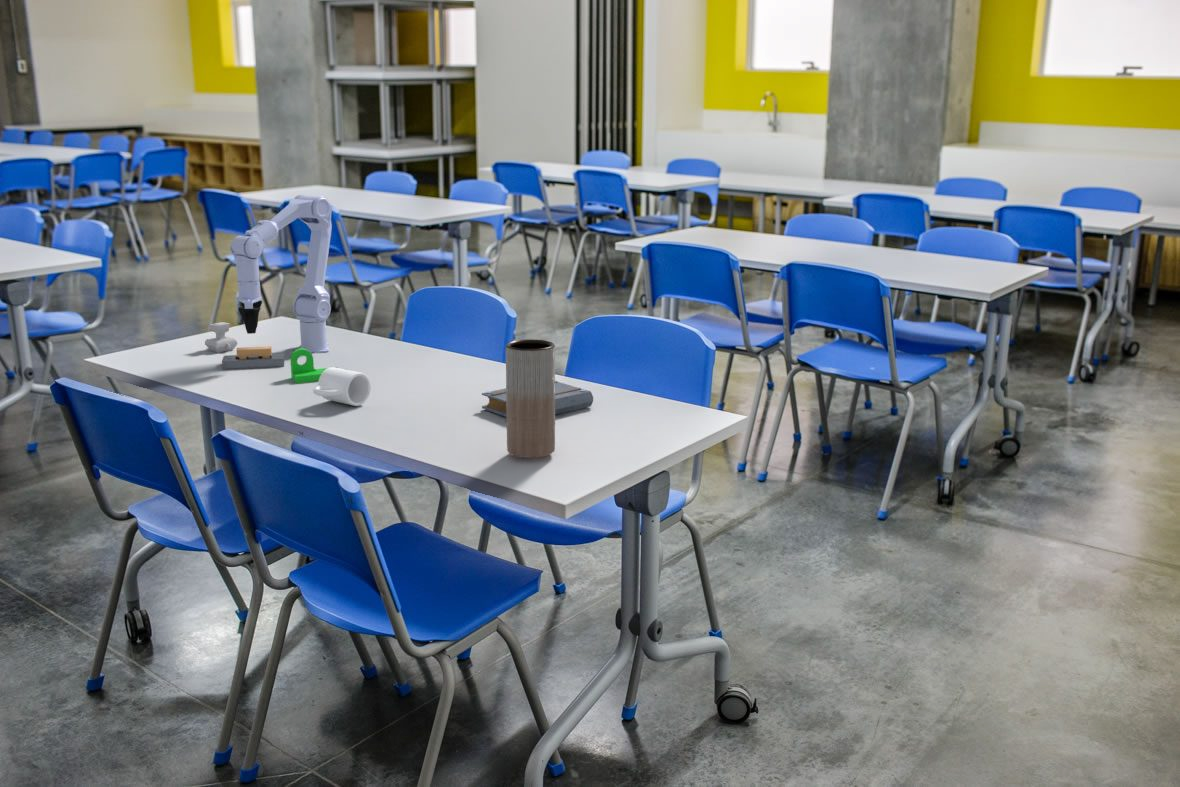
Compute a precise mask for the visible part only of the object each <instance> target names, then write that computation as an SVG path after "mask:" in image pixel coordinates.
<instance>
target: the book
mask: <svg viewBox="0 0 1180 787" xmlns="http://www.w3.org/2000/svg"><path fill="white" fill-rule="evenodd" d="M481 395H482V396H485V397H487V398H488V403H487V404H485V405H482V406H481V409H483V410H486V411H489V412H491V413H493V414H494V413H495V414H498V415H500V416H503V417H506V418H507V411H506V388H501V389H496V390H492V391H486V392H482V393H481ZM593 402H594V395H593V393H592V391H591V390H587V389H584V388H581V387H578V386H575V385H574V386H573V385H570V384H568V383H564V382H561V381H557V380H555V415H560V414H563V413H567V412H572V411H577V410H580V409H585V408H590V407H592V405H593Z"/></svg>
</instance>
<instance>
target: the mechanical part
mask: <svg viewBox="0 0 1180 787" xmlns="http://www.w3.org/2000/svg"><path fill="white" fill-rule="evenodd" d="M300 357H305V359H306V360H305V363H302V364H299V363H298V360H299V358H300ZM289 360H290V373H291V379H292V381H293V382H294V383H295V384H304V383H305V384H306V383H315V382H318V381H319V378H320V376H321V374H322V373H323V371H325V370H326V369H327V368H328V367H325V368H315V365H314V356H313V354H312V353H310V352H309V351H308V350H306V349H304V348H300V347H299V348H296V349H294V351H292V353H291V354H290V358H289ZM335 368H338V367H335Z"/></svg>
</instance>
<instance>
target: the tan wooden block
mask: <svg viewBox="0 0 1180 787" xmlns="http://www.w3.org/2000/svg"><path fill="white" fill-rule="evenodd" d="M272 351H273V350H272V345H270V346H269V345H268V346H249V347H236V355H237V357H239V359H247V357H253V356H262V358H270V356H271V355H272V354H273V353H272Z"/></svg>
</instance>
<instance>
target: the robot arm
mask: <svg viewBox="0 0 1180 787" xmlns="http://www.w3.org/2000/svg"><path fill="white" fill-rule="evenodd" d="M332 212H333V206H332V205H331V203H330V201H329V200H328V198H326V197H325V196H311V195H310V196H309V195H304V194H299V195H296V196H295V197H294V198H291V199H290V200H289V203H288V205H286V206H285V207H284V208H283V209H281V210H280V211H279V212H278V213H277V214H276V215H275V216H273V218H271V219H270V220H267V219H264V220H262V219H260V220H258V221H257V222H256V223H257V224H256V225H255V226H253V227H252V228H251V229H248V230H246V231H245V233H244V235H236V237H234V238H233V239H232V241H231V244H230V246H229V250H230V253H231V254H232V255H233V259H234V262H235V265H236V266H235V267H236V280H237V290H238V294H237V295H238V296H234V297H233V298H234V299H233V300H234V301H238V302H240V305H241V306H240V307H239V306H238V312H239V314H240V315H241V317H242V319H243V320H242V321H243V323H244V327H245V331H246V334H248V335H251V334H256V333H257V327H258V323H259V314H260V311H261V308H262V307H261V306H262V304H263V298H262V295H261V292H262V291H261V280H260V270H259V269H260V267H259V266H260V265H259V257H260V256H261V255H262V253H263V250H264V248H265V247H266V246H267V245H269V244H270V243H271V242H273V241H275V240H276V239H277V238H278V236H279V232H280V230H281V229H283V228H284V227H286V226H288V225H289V224H291V223H293V222H294V221H296V220H297V219H299V220H300V221H301V222H302V223H304V224H306V225H307V227H308V228H309V230H310V231H311V233H310V238H309V239H310V240H309V247H308V255H307V261H306V262H307V263H306V269H305V277H304V285H303V286H301V287H299V289H298V290H297V294H296V297H295V299H294V301H293V304H292V310H293V313H294V314H295V316H297V319H298V321H299V332H300V345H299V348H304V349H306V350H308V351H309V352H310V353H311V354H312V353H313V354H314V353H316V354H317V353H329V352H330V351H329V344H328V343H327V341H328V340H327V328H326V327H327V322H326V321H327V320H328V318H329V316H330V314H331V311H332V306H331V303H330V302H331V299H330V298H331V295H330V293H329V292H328V290H326V289H325V283H326V282H325V281H326V275H327V274H326V273H327V265H328V261H329V260H328V258H329V250H330V243H331V237H332V228H333V227H332V226H333V224H332Z"/></svg>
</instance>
